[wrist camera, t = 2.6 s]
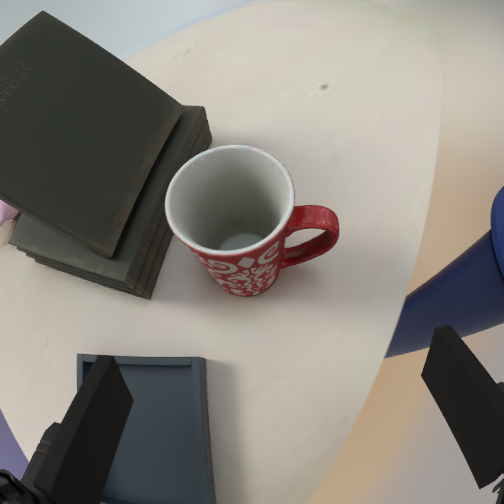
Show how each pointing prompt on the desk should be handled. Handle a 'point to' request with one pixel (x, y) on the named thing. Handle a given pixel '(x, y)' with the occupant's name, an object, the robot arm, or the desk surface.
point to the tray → (161, 433)
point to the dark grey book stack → (89, 156)
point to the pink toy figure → (6, 212)
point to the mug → (243, 217)
